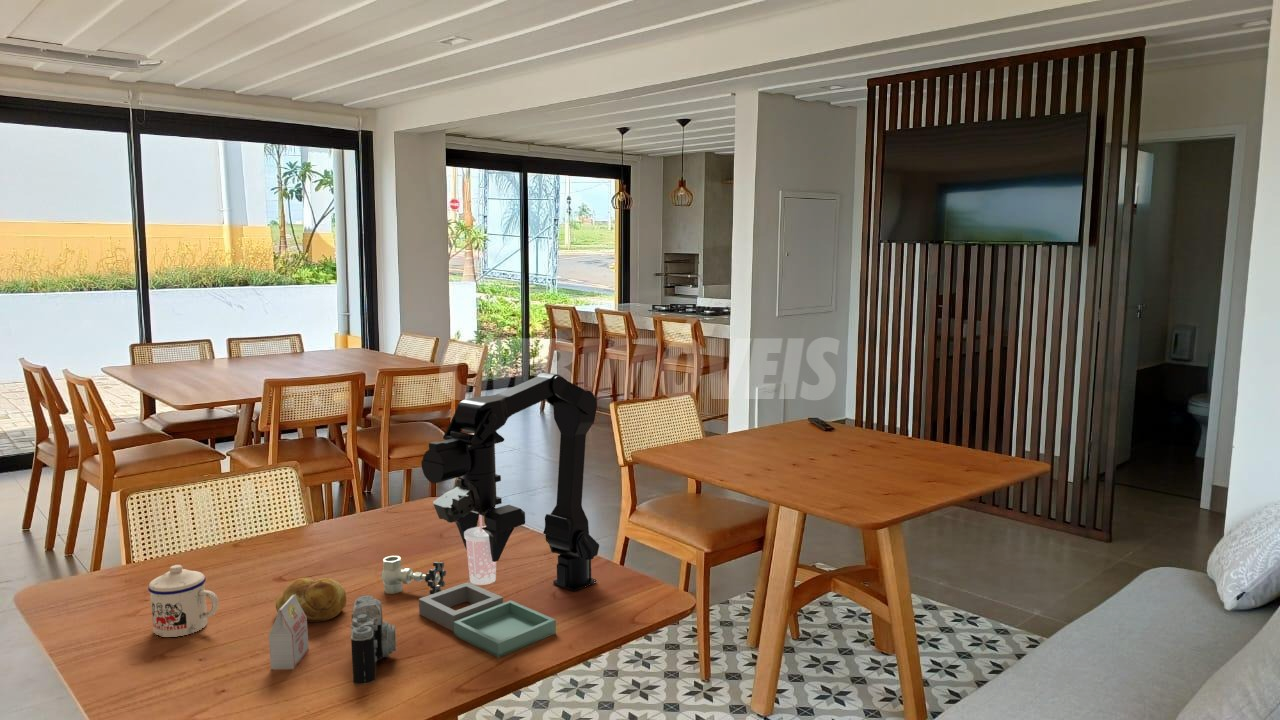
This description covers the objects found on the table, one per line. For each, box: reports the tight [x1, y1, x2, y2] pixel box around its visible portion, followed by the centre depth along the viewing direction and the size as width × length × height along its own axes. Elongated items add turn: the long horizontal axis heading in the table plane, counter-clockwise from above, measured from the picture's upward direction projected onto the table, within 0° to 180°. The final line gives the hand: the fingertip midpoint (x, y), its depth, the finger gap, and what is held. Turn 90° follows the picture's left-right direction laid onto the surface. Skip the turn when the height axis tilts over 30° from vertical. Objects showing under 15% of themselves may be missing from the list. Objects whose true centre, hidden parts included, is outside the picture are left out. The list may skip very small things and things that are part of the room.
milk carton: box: [268, 594, 309, 670], centre depth 146 cm, size 4×7×10 cm, turn 1°
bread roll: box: [275, 576, 347, 623], centre depth 164 cm, size 13×10×8 cm
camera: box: [349, 595, 397, 685], centre depth 145 cm, size 15×7×10 cm, turn 15°
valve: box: [381, 555, 447, 595], centre depth 174 cm, size 7×7×12 cm
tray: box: [453, 600, 557, 659], centre depth 155 cm, size 13×13×2 cm
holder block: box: [418, 581, 504, 632], centre depth 164 cm, size 11×11×3 cm
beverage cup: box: [464, 514, 497, 586], centre depth 157 cm, size 6×6×14 cm
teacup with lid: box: [148, 564, 219, 637], centre depth 158 cm, size 12×9×12 cm
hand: (482, 555), depth 158 cm, fingers closed on beverage cup, 8 cm apart
